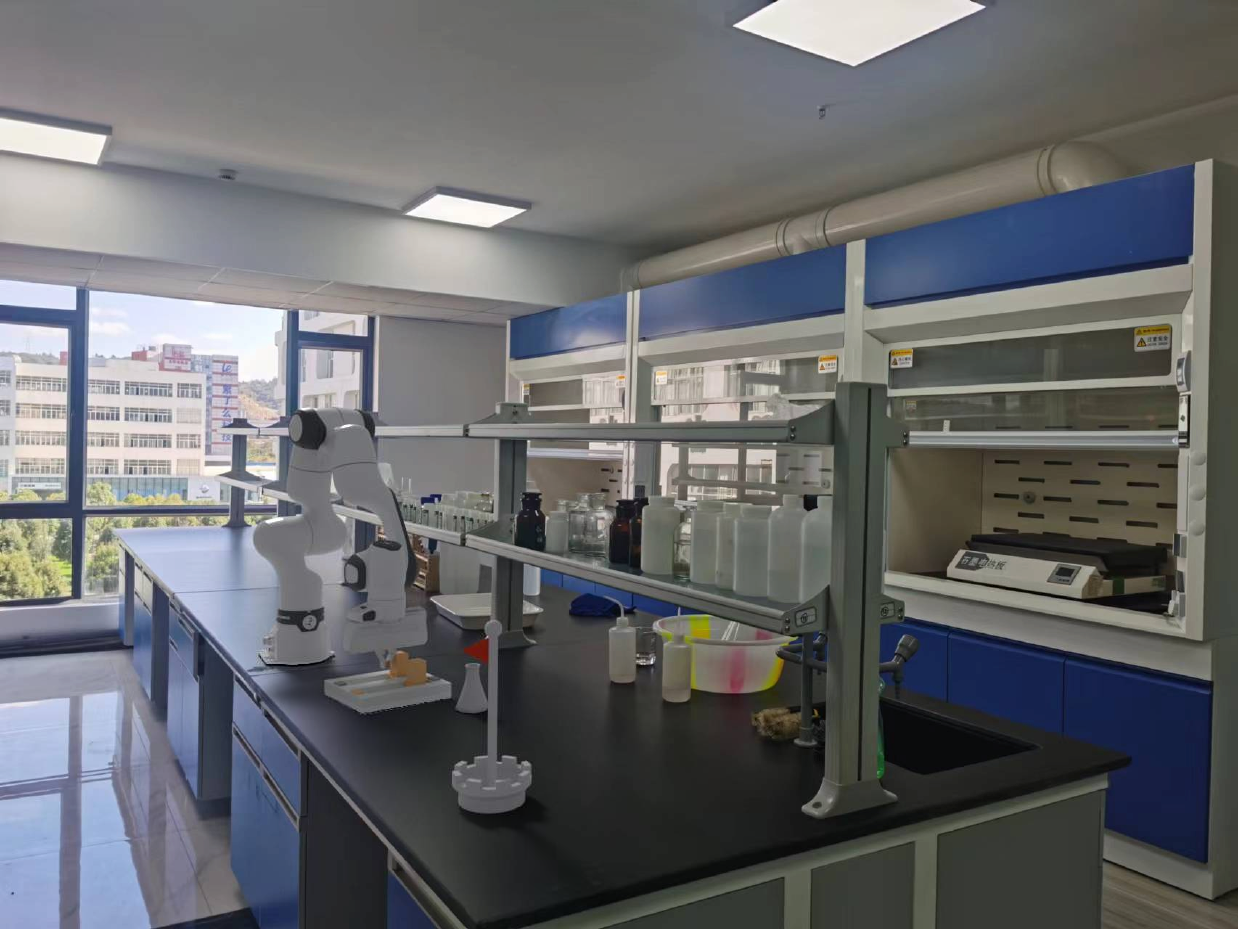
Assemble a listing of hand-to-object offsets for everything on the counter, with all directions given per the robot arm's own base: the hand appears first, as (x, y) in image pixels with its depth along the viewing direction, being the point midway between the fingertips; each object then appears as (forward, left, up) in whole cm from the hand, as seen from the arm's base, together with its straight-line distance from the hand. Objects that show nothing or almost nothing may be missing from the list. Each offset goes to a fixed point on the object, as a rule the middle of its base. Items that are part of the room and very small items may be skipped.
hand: (386, 667), depth 219 cm
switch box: (+5, -2, -6) cm, 7 cm away
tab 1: (0, +3, -4) cm, 5 cm away
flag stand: (+73, -17, -6) cm, 75 cm away
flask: (+26, +8, -6) cm, 27 cm away
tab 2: (+9, +3, -4) cm, 10 cm away
